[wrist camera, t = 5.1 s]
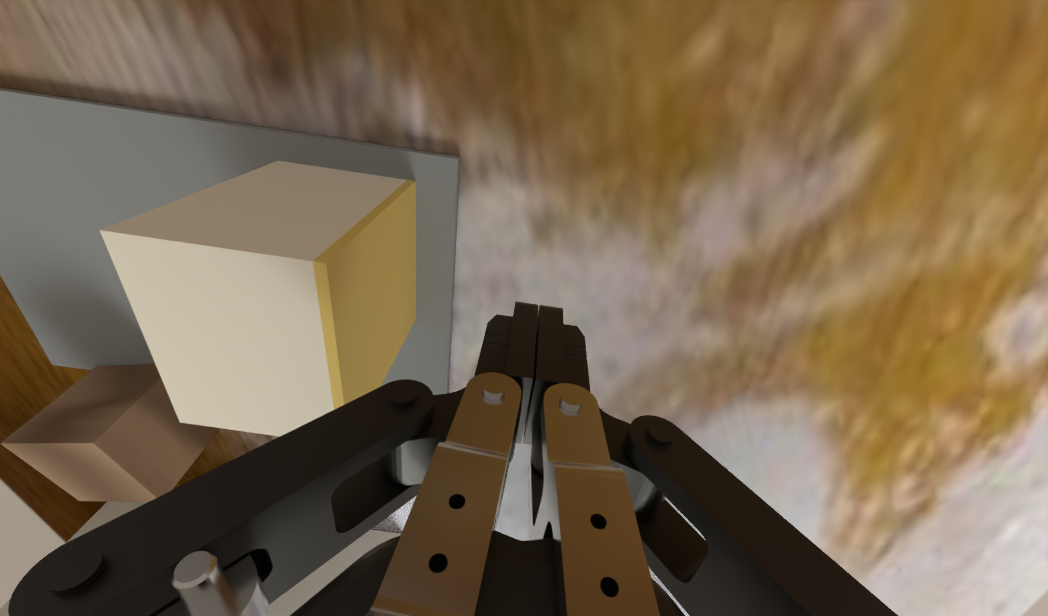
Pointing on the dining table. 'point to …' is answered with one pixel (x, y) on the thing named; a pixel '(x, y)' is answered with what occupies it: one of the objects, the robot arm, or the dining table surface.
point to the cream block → (273, 292)
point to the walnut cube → (112, 437)
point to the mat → (158, 179)
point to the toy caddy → (293, 597)
